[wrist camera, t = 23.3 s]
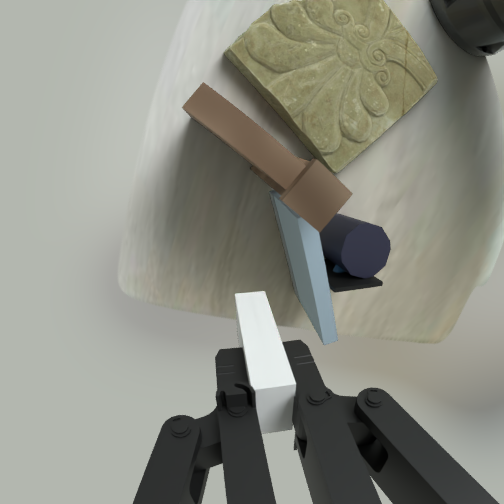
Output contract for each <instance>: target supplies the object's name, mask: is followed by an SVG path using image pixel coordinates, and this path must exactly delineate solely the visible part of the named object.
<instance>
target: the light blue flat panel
mask: <svg viewBox="0 0 504 504" xmlns="http://www.w3.org/2000/svg"><path fill="white" fill-rule="evenodd" d="M269 194H270V197H271V201H272V205H273V209H274V212H275V216H276V220H277V224H278V228H279V231H280V235H281V239H282V243H283V247H284V251H285V255H286V259H287V263H288V267H289V271H290V275H291V279H292V283H293V287H294V291H295V294H296V296H297V298H298V300H299V301H300V302H301V304H302V306H303V308H304V310H305V311H306V313H307V315H308V317H309V319H310V321H311V322H312V324H313V326H314V328H315V330H316V332H317V333H318V335H319V337H320V339H321V341H322V343H323V345H326V344H329V343H332V342H335V341H338V337H337V331H336V324H335V318H334V312H333V306H332V300H331V294H330V288H329V283H328V277H327V272H326V266H325V261H324V256H323V251H322V246H321V241H320V236H319V232H318V231H317V230H316V229H315V228H313V227H312V226H311V225H310V224H309V223H308V222H306V221H305V220H304V219H303V218H302V217H301V216H299V215H298V214H297V213H296V212H295V211H293V210H292V209H291V208H290V207H289V206H287V205H286V204H285V203H284V202H283V201H281V200H280V199H279V197H280V196H281V195H280V194H279V193H277V192H276V191H275V190H272V191H269Z"/></svg>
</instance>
